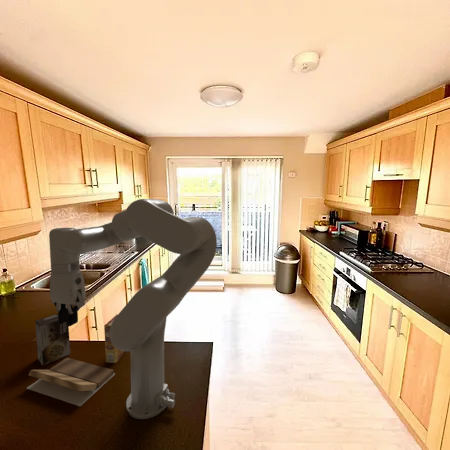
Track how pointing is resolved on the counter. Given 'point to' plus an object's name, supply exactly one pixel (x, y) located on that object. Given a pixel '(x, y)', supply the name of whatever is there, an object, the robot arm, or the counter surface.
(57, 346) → the coffee box
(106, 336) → the candy box
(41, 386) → the underlay mat
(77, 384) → the oak plank
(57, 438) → the counter surface
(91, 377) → the walnut plank
